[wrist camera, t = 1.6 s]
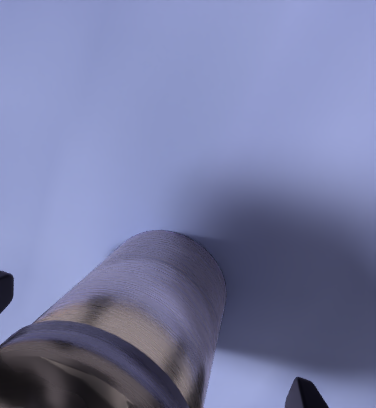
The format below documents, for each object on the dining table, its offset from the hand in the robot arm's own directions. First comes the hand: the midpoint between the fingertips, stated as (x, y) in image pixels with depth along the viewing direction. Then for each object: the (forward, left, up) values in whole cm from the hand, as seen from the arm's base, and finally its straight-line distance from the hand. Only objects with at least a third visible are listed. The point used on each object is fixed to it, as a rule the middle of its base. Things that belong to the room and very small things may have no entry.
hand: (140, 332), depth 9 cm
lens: (0, 0, -2) cm, 2 cm away
